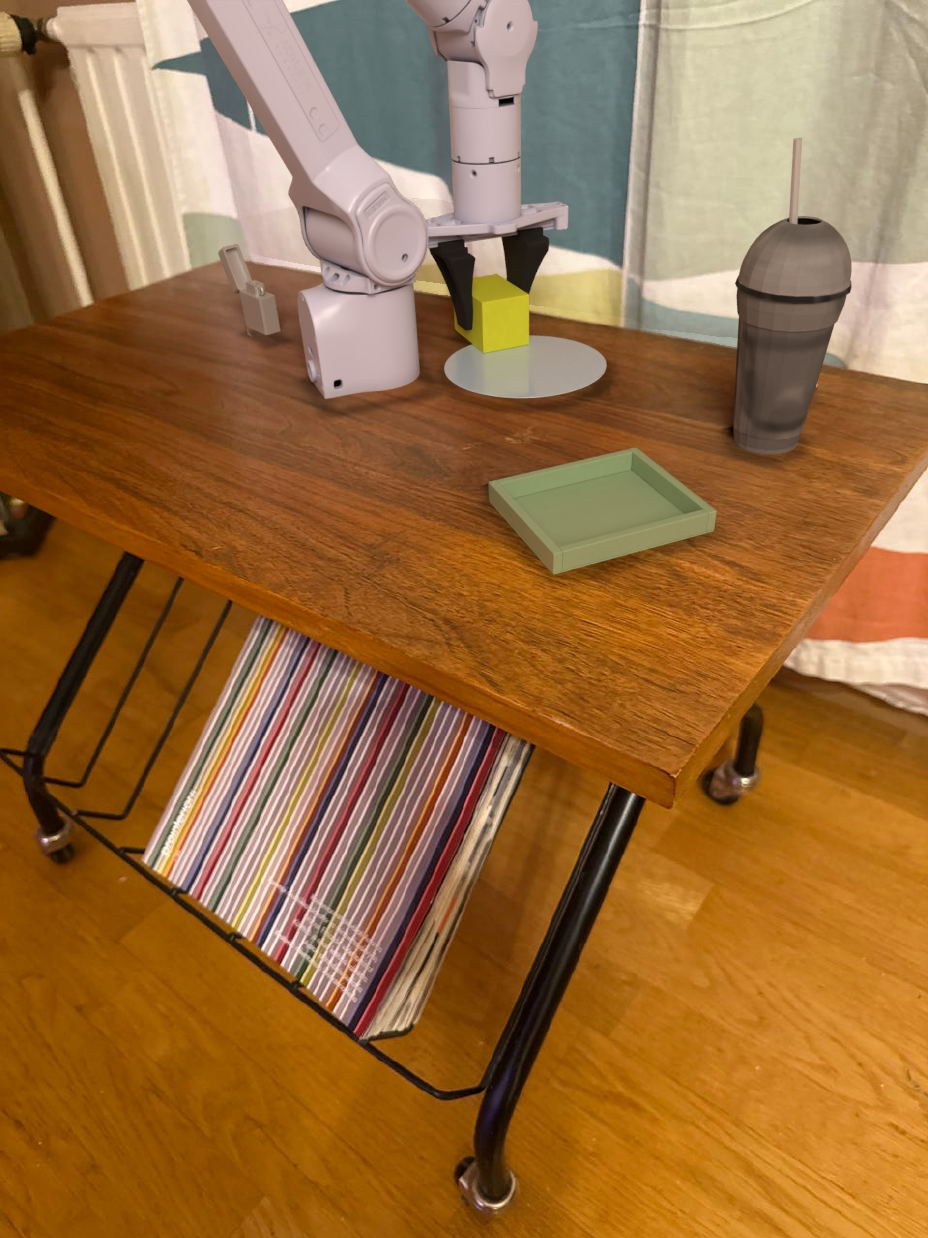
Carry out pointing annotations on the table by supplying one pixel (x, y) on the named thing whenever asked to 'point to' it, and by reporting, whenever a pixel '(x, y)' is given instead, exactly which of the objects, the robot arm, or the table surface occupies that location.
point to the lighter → (250, 293)
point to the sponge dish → (599, 509)
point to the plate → (527, 368)
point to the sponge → (497, 315)
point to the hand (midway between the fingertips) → (490, 322)
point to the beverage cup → (786, 323)
